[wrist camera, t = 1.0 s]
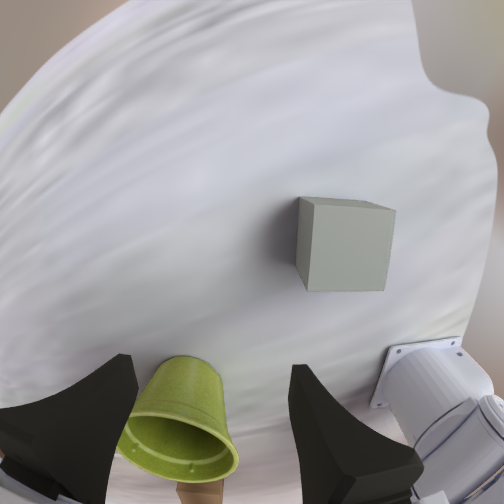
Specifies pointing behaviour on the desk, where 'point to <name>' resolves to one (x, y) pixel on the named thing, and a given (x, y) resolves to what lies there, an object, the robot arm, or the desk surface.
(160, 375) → the plant pot
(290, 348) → the desk surface
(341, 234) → the slate block
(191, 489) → the walnut block
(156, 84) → the desk surface
